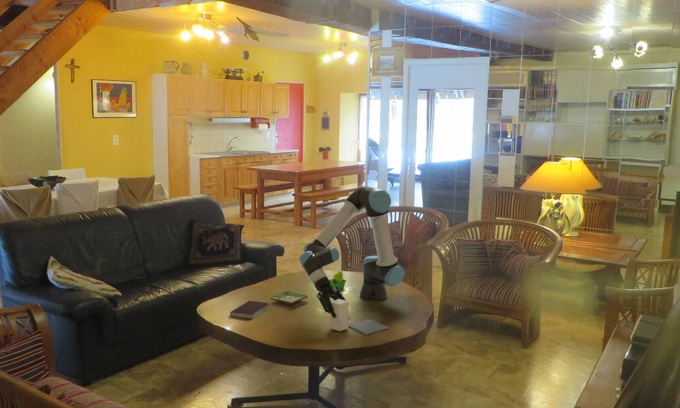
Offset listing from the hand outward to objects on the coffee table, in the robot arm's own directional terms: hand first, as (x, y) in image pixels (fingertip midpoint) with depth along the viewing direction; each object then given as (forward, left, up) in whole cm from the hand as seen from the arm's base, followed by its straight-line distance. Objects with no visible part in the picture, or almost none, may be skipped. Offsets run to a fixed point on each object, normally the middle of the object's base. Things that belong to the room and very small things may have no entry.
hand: (345, 320), depth 277 cm
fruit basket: (-36, -56, -5) cm, 67 cm away
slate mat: (-12, +2, -5) cm, 14 cm away
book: (+23, -50, -6) cm, 55 cm away
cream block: (+1, -4, -4) cm, 6 cm away
